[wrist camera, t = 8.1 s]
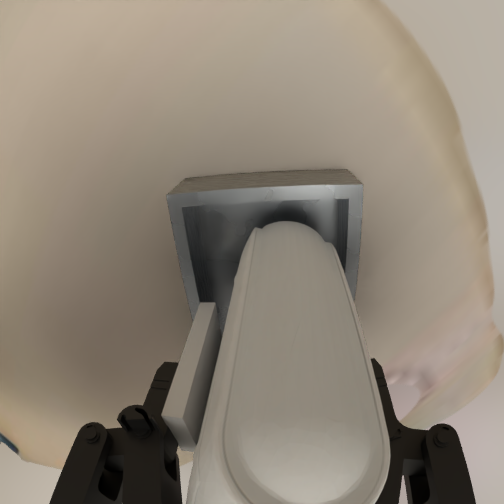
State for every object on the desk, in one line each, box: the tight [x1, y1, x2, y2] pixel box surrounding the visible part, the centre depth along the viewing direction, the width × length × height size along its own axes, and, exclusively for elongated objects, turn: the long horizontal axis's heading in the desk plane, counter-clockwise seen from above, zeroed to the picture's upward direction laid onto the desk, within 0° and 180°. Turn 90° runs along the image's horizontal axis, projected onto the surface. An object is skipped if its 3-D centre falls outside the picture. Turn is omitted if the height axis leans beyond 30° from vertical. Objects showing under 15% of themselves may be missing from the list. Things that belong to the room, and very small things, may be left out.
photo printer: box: [186, 221, 390, 504], centre depth 10 cm, size 10×4×12 cm, turn 170°
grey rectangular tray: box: [166, 170, 363, 337], centre depth 16 cm, size 8×13×3 cm, turn 5°
